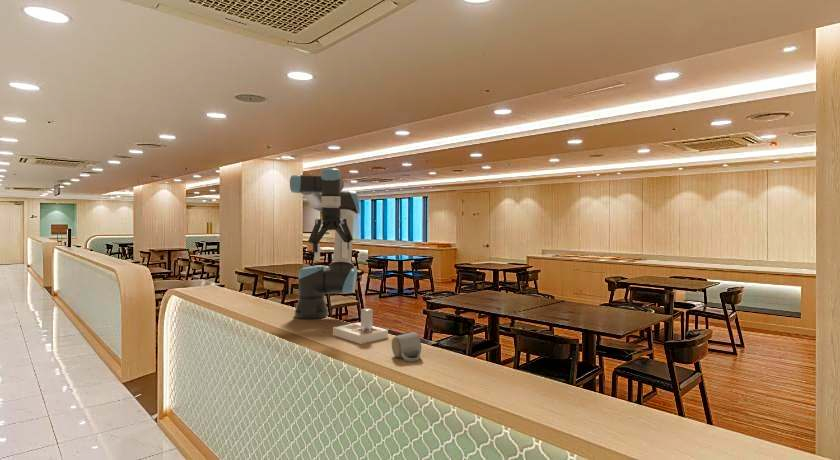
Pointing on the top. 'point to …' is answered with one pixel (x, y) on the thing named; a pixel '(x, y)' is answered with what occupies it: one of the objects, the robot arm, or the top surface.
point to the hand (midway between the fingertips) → (331, 259)
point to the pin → (366, 320)
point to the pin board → (359, 333)
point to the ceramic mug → (407, 346)
